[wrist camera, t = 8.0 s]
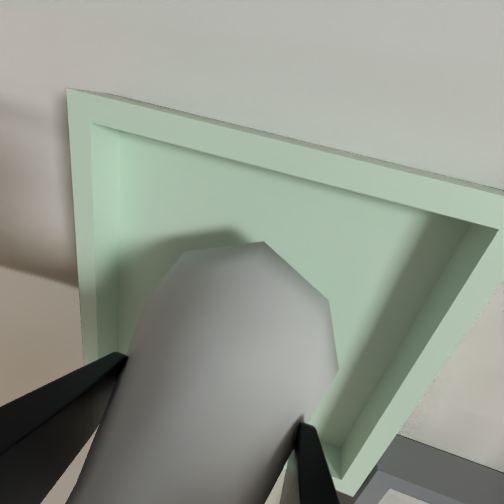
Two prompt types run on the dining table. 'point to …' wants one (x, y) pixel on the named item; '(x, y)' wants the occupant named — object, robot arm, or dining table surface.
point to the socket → (428, 477)
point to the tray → (287, 249)
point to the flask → (213, 383)
